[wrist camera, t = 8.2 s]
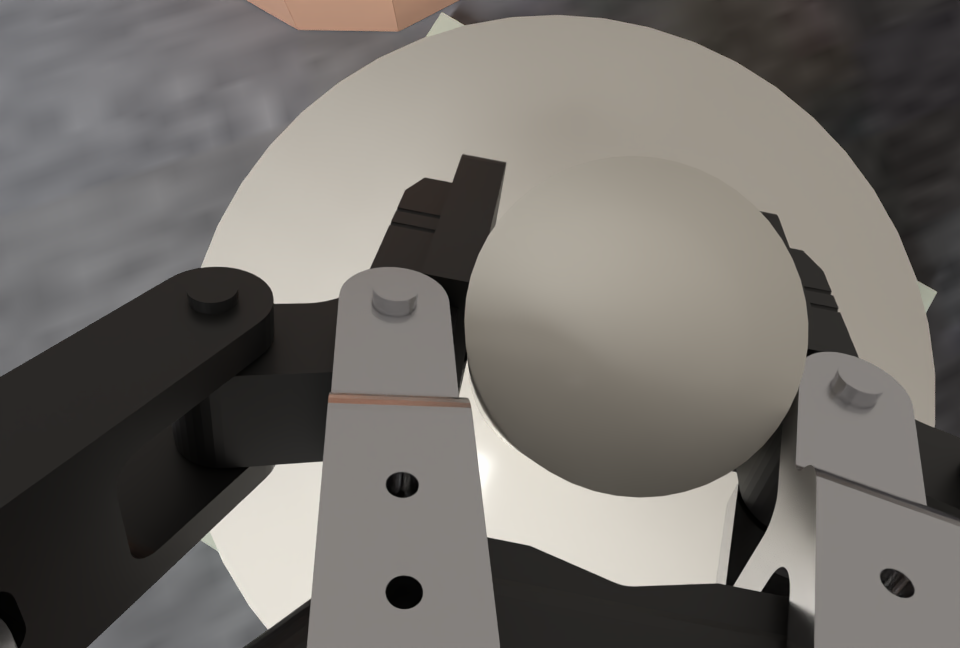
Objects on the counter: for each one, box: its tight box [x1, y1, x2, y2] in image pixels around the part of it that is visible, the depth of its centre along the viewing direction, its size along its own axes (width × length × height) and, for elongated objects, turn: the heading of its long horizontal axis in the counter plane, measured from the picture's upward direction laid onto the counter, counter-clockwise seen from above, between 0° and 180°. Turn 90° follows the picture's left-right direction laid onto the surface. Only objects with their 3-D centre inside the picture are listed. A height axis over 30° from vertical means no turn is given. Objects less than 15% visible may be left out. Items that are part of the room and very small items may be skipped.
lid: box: [201, 15, 935, 629], centre depth 12 cm, size 15×15×8 cm
